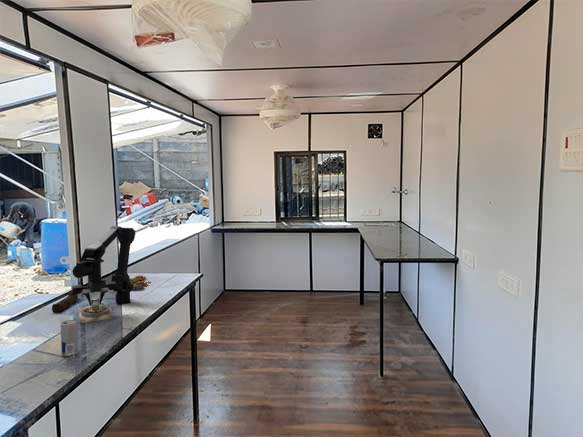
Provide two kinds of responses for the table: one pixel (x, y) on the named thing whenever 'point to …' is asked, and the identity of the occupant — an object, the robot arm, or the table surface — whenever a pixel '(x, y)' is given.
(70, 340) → the energy drink
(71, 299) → the hand tool
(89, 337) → the table surface
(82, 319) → the gear board
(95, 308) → the bronze gear
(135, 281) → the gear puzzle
